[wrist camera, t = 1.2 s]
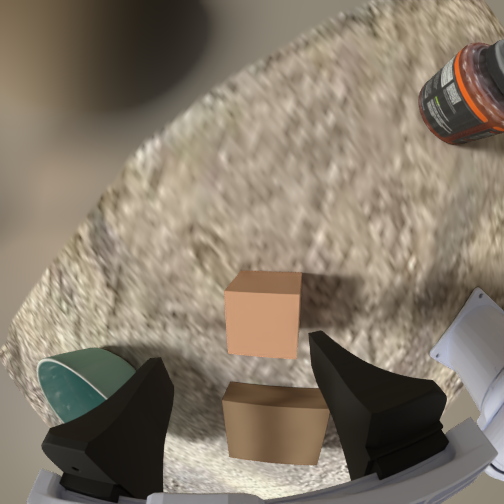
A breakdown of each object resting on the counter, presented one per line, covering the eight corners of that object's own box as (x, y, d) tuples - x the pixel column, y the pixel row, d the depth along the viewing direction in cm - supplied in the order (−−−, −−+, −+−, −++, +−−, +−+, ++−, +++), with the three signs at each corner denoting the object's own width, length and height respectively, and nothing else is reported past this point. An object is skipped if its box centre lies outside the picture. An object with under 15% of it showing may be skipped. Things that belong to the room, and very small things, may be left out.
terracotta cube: (301, 272, 22) (299, 294, 18) (299, 327, 23) (296, 359, 19) (241, 270, 23) (223, 290, 19) (243, 323, 24) (228, 353, 20)
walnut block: (329, 388, 24) (330, 408, 21) (317, 446, 26) (316, 465, 23) (230, 381, 26) (221, 400, 23) (235, 439, 28) (229, 457, 25)
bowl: (193, 427, 29) (168, 474, 21) (110, 418, 33) (82, 450, 25) (138, 320, 27) (89, 359, 19) (60, 331, 31) (20, 357, 23)
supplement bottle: (480, 119, 16) (560, 92, 5) (451, 159, 18) (539, 147, 7) (436, 69, 16) (498, 12, 5) (403, 106, 18) (468, 49, 7)
